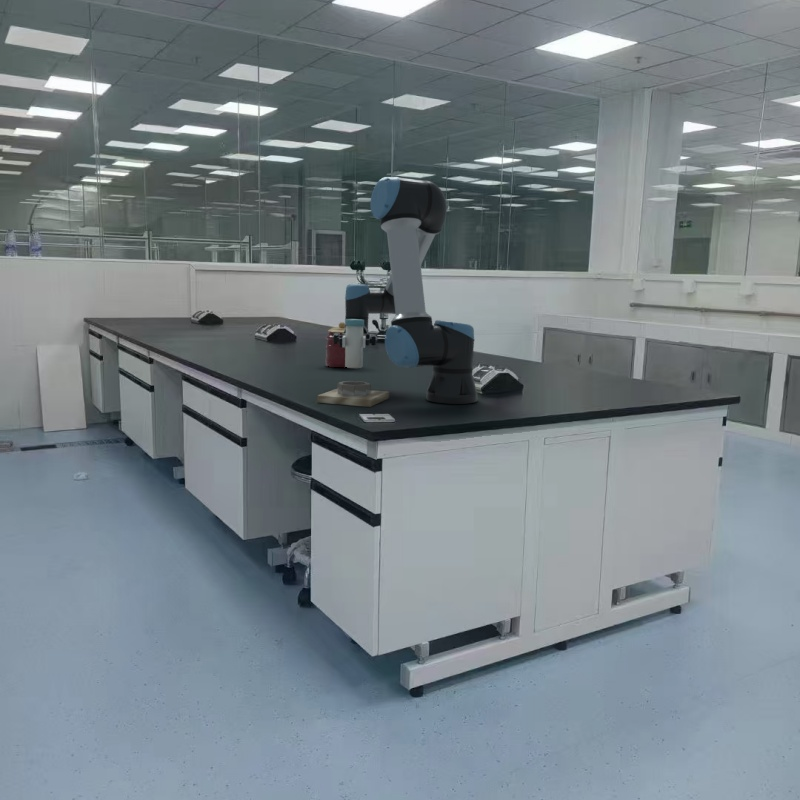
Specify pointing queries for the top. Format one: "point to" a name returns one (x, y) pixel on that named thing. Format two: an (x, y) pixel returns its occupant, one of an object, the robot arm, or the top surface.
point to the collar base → (353, 394)
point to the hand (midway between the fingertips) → (353, 342)
